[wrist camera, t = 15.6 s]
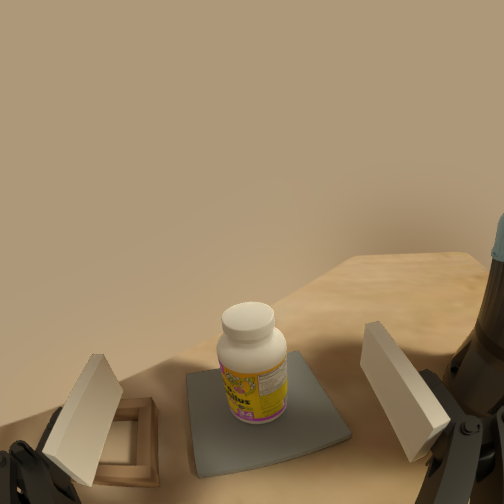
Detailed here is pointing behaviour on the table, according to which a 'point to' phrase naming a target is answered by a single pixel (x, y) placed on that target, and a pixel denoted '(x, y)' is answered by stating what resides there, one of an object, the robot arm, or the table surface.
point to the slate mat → (260, 435)
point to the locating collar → (146, 448)
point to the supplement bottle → (253, 363)
